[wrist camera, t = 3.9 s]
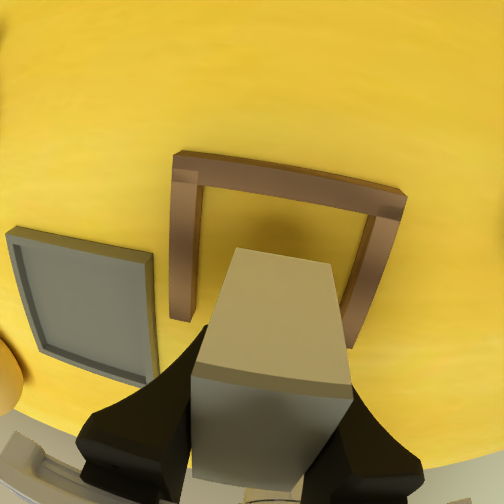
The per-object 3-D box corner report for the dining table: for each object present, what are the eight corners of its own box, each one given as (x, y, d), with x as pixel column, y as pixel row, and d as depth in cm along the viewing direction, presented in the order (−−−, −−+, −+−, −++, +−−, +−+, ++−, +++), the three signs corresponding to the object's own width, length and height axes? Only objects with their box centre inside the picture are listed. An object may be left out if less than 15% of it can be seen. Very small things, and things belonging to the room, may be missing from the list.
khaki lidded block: (295, 374, 16) (290, 492, 10) (222, 362, 17) (192, 477, 10) (330, 263, 13) (353, 399, 7) (236, 247, 13) (190, 375, 7)
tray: (160, 380, 28) (155, 392, 26) (46, 342, 28) (39, 351, 27) (153, 253, 21) (144, 264, 20) (15, 226, 22) (5, 233, 20)
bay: (349, 335, 23) (352, 348, 21) (175, 305, 23) (169, 318, 22) (399, 189, 17) (407, 196, 16) (181, 150, 18) (173, 154, 17)
